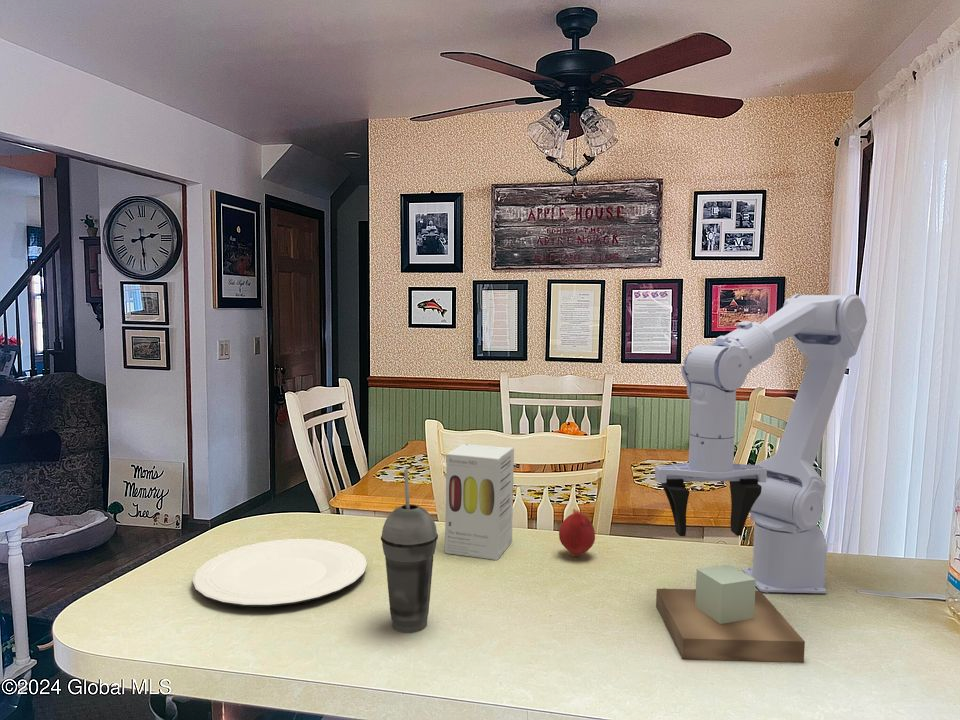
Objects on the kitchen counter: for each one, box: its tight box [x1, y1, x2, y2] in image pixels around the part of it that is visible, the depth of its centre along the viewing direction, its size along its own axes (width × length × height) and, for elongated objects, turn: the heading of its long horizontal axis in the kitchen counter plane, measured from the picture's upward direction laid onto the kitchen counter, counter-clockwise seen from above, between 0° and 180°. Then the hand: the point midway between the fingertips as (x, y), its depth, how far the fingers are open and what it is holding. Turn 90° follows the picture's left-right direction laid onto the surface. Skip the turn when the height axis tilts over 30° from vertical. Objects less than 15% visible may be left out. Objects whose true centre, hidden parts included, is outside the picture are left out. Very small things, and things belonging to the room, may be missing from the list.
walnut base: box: [655, 588, 806, 663], centre depth 87 cm, size 14×14×2 cm
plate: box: [191, 538, 368, 607], centre depth 103 cm, size 25×25×2 cm
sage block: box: [695, 564, 756, 624], centre depth 87 cm, size 5×5×5 cm
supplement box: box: [444, 442, 515, 561], centre depth 116 cm, size 10×9×17 cm
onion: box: [558, 507, 596, 558], centre depth 113 cm, size 6×6×8 cm
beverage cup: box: [380, 469, 439, 634], centre depth 88 cm, size 7×7×20 cm
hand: (708, 533), depth 94 cm, fingers open, 7 cm apart
